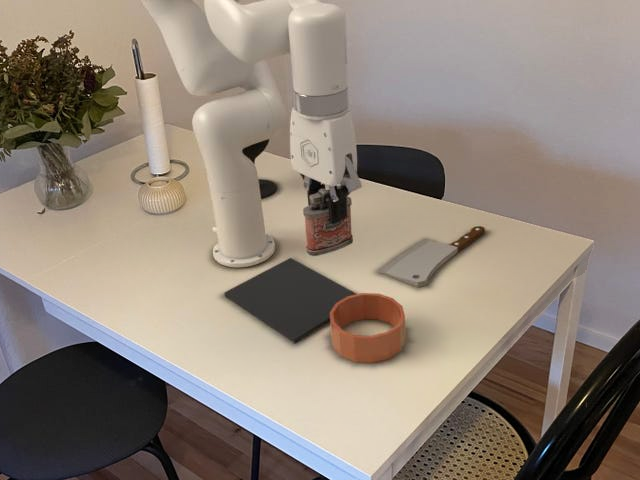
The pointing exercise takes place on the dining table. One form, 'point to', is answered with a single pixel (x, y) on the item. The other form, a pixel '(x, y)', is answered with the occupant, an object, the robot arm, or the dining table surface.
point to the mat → (290, 298)
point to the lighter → (325, 225)
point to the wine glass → (252, 152)
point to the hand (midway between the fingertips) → (327, 214)
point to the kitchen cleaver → (427, 258)
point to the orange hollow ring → (363, 345)
